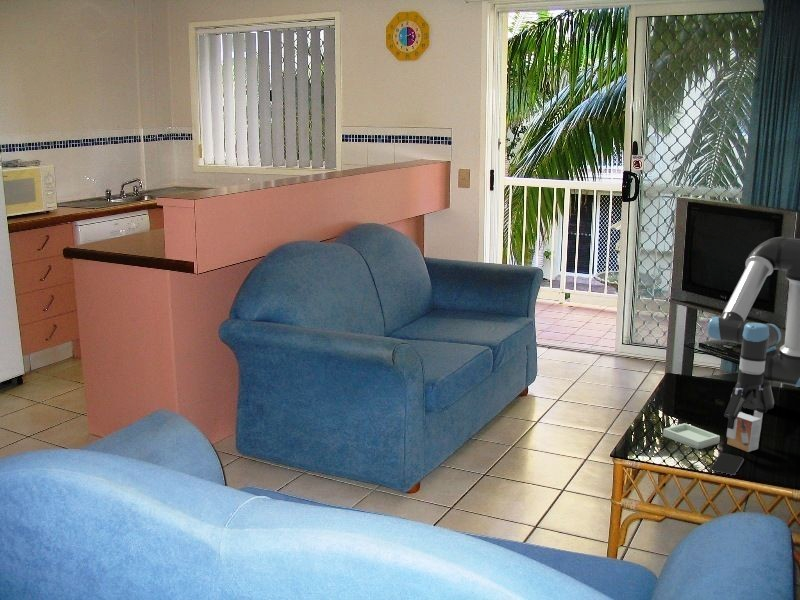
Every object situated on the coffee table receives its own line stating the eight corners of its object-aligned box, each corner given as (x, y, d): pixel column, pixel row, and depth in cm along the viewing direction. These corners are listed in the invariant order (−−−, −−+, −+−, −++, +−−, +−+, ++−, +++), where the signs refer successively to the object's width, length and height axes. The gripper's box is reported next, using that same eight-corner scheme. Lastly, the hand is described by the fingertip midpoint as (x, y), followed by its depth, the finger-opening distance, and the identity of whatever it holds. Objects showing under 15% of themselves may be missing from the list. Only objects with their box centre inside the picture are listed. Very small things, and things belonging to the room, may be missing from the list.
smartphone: (709, 469, 263) (720, 452, 275) (709, 472, 263) (720, 455, 276) (734, 475, 259) (744, 457, 272) (734, 478, 259) (744, 461, 272)
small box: (726, 444, 285) (730, 414, 282) (736, 441, 288) (740, 411, 286) (748, 452, 278) (752, 421, 276) (758, 449, 281) (762, 418, 279)
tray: (684, 429, 297) (684, 423, 296) (719, 443, 286) (719, 435, 285) (662, 435, 291) (663, 428, 290) (697, 449, 279) (698, 442, 279)
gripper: (763, 363, 288) (756, 424, 292) (717, 373, 274) (709, 437, 278) (784, 369, 282) (776, 431, 286) (737, 379, 268) (730, 444, 272)
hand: (743, 434), depth 282 cm, fingers open, 13 cm apart
